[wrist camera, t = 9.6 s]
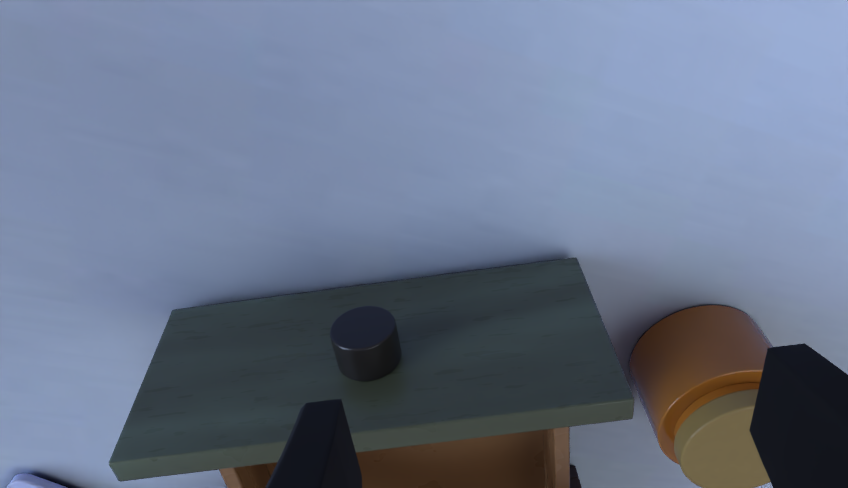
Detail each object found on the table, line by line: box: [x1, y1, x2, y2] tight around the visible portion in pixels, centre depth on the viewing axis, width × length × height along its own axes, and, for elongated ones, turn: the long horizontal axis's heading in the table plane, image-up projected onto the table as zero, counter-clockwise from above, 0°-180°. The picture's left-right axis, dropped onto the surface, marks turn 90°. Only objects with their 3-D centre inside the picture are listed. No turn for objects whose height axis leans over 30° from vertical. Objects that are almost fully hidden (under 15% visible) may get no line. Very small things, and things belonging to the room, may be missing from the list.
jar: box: [629, 305, 773, 488], centre depth 23 cm, size 5×5×4 cm
